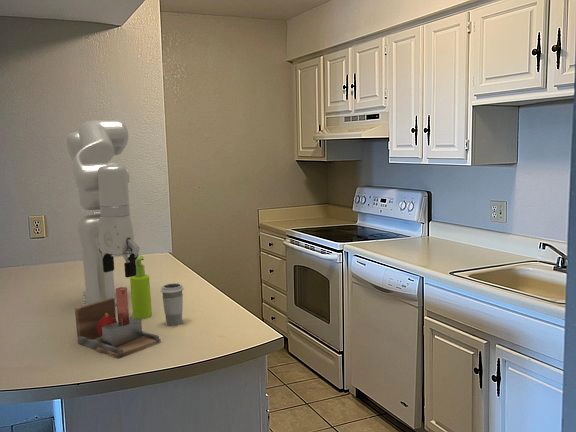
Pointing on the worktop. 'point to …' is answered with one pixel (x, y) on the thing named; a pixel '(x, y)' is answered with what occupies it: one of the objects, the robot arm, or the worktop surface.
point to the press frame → (88, 330)
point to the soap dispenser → (140, 292)
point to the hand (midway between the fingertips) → (119, 273)
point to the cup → (173, 303)
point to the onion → (105, 322)
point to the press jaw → (122, 323)
